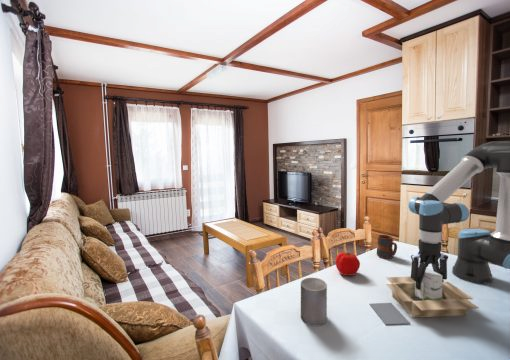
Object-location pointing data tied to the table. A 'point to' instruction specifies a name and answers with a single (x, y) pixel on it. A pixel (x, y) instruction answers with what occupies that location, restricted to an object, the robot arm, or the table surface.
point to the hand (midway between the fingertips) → (428, 296)
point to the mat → (389, 314)
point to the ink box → (431, 285)
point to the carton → (450, 306)
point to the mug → (386, 247)
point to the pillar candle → (313, 301)
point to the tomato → (347, 263)
